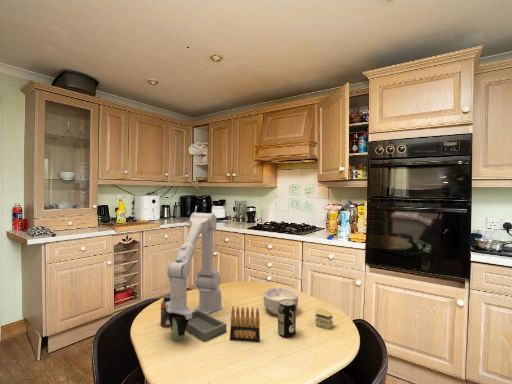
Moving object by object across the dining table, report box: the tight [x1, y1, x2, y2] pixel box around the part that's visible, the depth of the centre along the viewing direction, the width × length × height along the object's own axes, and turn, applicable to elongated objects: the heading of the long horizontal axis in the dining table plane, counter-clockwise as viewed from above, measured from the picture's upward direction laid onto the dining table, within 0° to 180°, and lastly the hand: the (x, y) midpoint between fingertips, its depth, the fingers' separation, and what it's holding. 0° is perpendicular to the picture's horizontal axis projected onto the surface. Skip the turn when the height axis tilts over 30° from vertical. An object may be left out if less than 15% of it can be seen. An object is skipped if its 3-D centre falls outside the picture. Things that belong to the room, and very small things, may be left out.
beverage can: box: [277, 299, 297, 338], centre depth 106 cm, size 7×7×12 cm
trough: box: [185, 309, 227, 343], centre depth 109 cm, size 10×18×3 cm, turn 47°
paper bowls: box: [263, 287, 299, 316], centre depth 126 cm, size 15×15×8 cm
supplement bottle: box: [160, 293, 171, 328], centre depth 112 cm, size 6×6×11 cm
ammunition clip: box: [229, 305, 261, 343], centre depth 101 cm, size 11×2×12 cm, turn 84°
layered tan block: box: [314, 308, 334, 331], centre depth 113 cm, size 10×9×6 cm
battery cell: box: [171, 317, 185, 342], centre depth 102 cm, size 4×4×8 cm
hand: (178, 332), depth 102 cm, fingers closed on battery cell, 4 cm apart
